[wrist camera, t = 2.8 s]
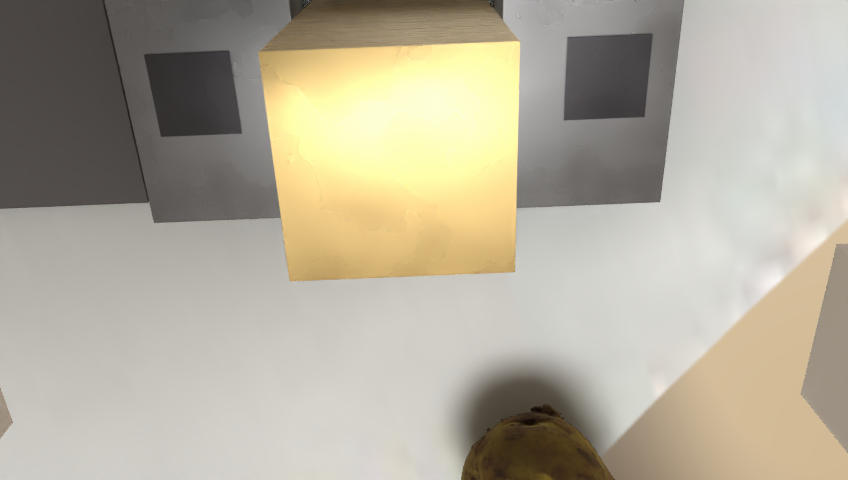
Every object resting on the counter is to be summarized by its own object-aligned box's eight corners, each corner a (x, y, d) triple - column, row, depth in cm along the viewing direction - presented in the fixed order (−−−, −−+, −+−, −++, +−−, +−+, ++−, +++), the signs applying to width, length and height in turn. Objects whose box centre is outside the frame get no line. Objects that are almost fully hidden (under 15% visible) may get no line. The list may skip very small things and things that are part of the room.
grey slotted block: (177, 194, 30) (153, 223, 27) (125, -56, 26) (91, -52, 23) (637, 175, 30) (660, 202, 27) (663, -78, 26) (694, -76, 23)
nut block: (319, -7, 27) (258, 51, 16) (475, -13, 27) (520, 41, 16) (334, 143, 29) (289, 281, 18) (476, 137, 29) (514, 272, 18)
